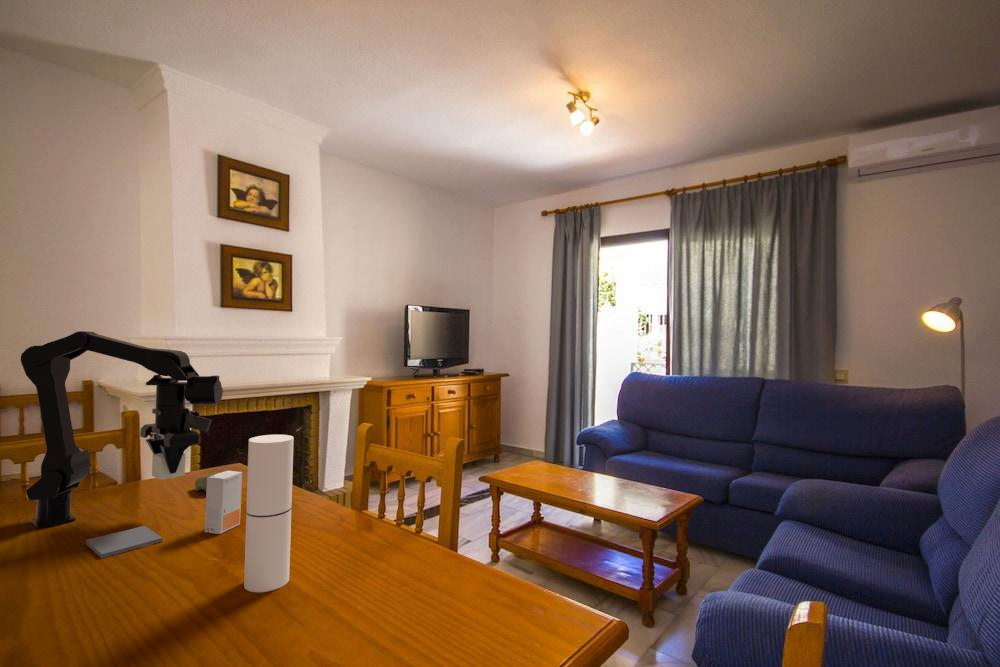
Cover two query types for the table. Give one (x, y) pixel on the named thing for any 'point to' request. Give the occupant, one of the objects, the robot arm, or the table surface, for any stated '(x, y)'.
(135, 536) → the mat
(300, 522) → the table surface
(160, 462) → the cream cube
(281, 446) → the cylindrical container
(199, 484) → the pear
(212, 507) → the skincare box
